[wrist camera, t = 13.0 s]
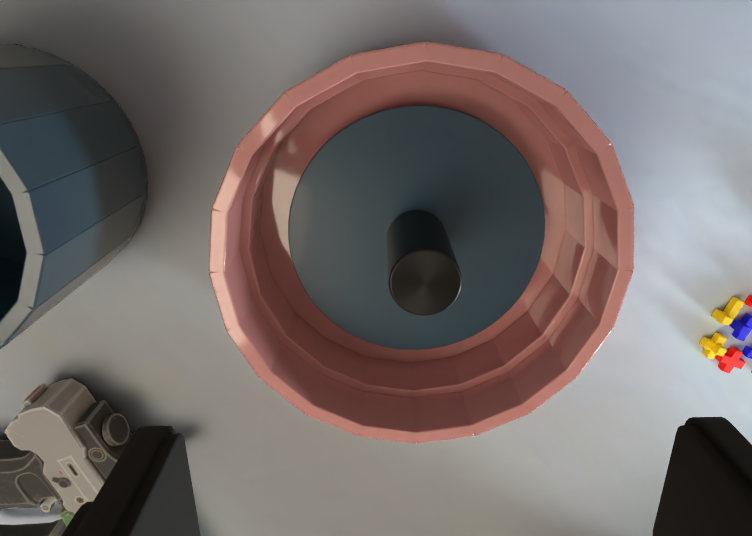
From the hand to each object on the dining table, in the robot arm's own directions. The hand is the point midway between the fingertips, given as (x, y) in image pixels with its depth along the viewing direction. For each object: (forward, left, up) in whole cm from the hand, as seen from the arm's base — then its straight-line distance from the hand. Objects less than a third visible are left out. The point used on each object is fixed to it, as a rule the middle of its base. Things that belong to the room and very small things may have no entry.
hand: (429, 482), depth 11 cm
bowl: (0, 0, -16) cm, 16 cm away
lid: (+1, +1, -15) cm, 15 cm away
